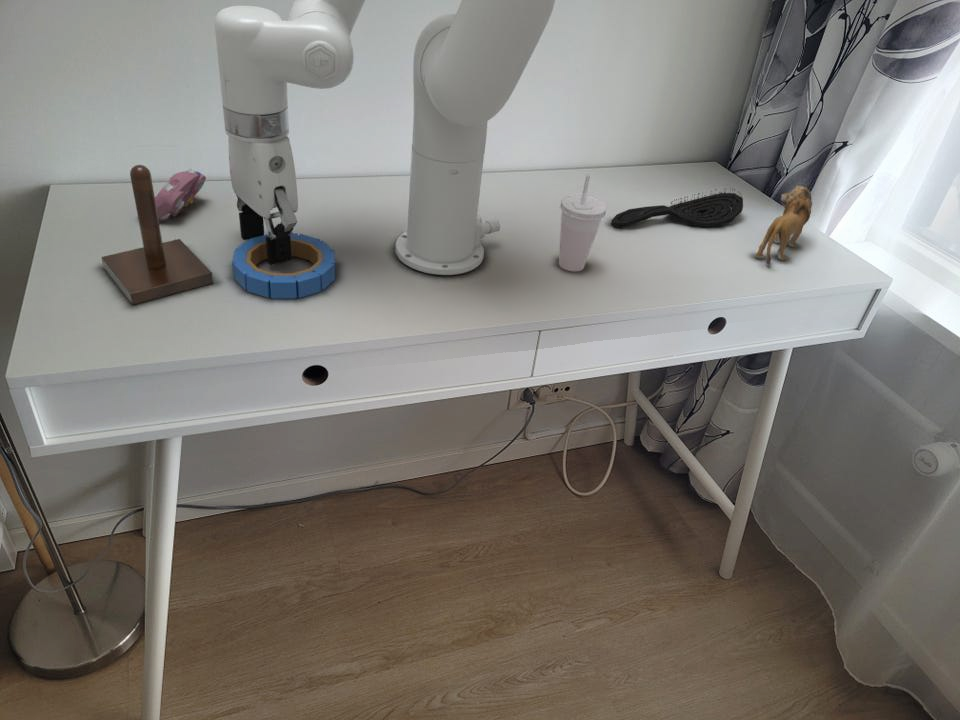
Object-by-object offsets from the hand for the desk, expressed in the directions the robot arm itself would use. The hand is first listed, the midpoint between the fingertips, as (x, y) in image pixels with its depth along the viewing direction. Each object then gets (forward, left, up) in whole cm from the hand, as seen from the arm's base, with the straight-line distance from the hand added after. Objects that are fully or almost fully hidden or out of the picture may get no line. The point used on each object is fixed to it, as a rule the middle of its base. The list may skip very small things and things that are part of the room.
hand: (265, 248), depth 101 cm
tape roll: (0, +5, -1) cm, 5 cm away
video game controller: (+5, -18, -1) cm, 18 cm away
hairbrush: (-63, +21, -1) cm, 67 cm away
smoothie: (-36, +23, -1) cm, 43 cm away
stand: (+14, -2, -1) cm, 14 cm away
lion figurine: (-70, +36, -1) cm, 79 cm away
